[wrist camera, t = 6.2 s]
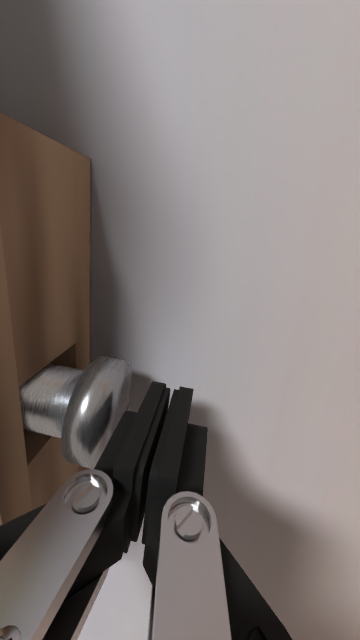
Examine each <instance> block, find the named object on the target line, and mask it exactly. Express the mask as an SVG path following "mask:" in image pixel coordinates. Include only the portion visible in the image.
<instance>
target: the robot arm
mask: <svg viewBox="0 0 360 640" xmlns="http://www.w3.org/2000/svg"><path fill="white" fill-rule="evenodd" d="M192 395H193V389H190V388H185V387H180V389H179V390H176V389H174V392H173V395H172V398H171V402H170V405H169V397H170V388H166V384H164V383H159V382H154V381H153V382H152V383H151V385H150V387H149V390H148V392H147V394H146V396H145V398H144V400H143V403H142V405H141V407H140V409H139V411H138V413H135V412H130V411H125V412H124V414H123V415H122V417H121V419H120V421H119V423H118V425H117V426H116V428H115V430H114V432H113V434H112V436H111V438H110V440H109V441H108V443H107V445H106V447H105V449H104V451H103V453H102V455H101V456H100V458H99V460H98V462H97V464H96V466H95V468H94V469H87V470H83V471H80V472H77V473H75V474H74V475H72V476H70V477H69V478H68V479H67V480H66V481H65V482H64V483H63V484H62V485H61V487H60V488H59V489H58V490H57V492H56V493H55V494H54V495H53V497H52V498H51V499H50V500H49V502H48V503H46V504H44V505H42V506H40V507H38V508H36V509H34V510H32V511H30V512H28V513H26V514H24V515H21V516H19V517H17V518H15V519H13V520H11V521H9V522H7V523H5V524H3V525H1V526H0V640H77V639H78V637H79V635H80V632H81V630H82V628H83V626H84V624H85V622H86V619H87V617H88V615H89V613H90V611H91V609H92V606H93V604H94V602H95V600H96V598H97V596H98V593H99V591H100V589H101V587H102V585H103V583H104V580H105V578H106V576H107V573H108V570H109V567H110V566H112V565H113V564H115V563H116V562H118V561H119V560H120V559H121V558H122V555H123V552H124V553H127V552H128V548H129V545H130V541H134V542H137V540H138V536H139V533H140V529H141V525H142V522H143V518H144V526H143V535H142V544H145V550H144V559H143V566H144V568H145V571H146V573H147V575H148V577H149V579H150V581H151V584H152V588H151V600H150V613H149V625H148V637H147V640H293V639H291V637H290V635H289V634H288V632H287V630H286V629H285V627H284V626H283V624H282V623H281V622H280V620H279V619H278V618H277V616H276V615H275V613H274V612H273V611H272V609H271V608H270V607H269V605H268V604H267V602H266V601H265V600H264V598H263V597H262V595H261V594H260V593H259V591H258V590H257V589H256V587H255V586H254V584H253V583H252V582H251V580H250V579H249V578H248V576H247V575H246V573H245V572H244V571H243V569H242V568H241V567H240V565H239V564H238V562H237V561H236V560H235V558H234V557H233V556H232V554H231V553H230V551H229V550H228V549H227V547H226V546H225V545H224V543H223V542H222V540H221V539H220V538H219V533H218V525H217V519H216V515H215V511H214V510H213V508H212V506H211V504H210V503H209V502H208V501H207V500H206V499H205V498H204V497H203V484H204V470H205V456H206V443H207V427H202V426H198V425H193V424H188V420H189V413H190V407H191V401H192ZM168 405H169V408H168ZM144 514H145V517H144Z"/></svg>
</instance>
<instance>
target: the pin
mask: <svg viewBox="0 0 360 640" xmlns="http://www.w3.org/2000/svg"><path fill="white" fill-rule="evenodd" d="M131 387H132V369H131V365H130V363H129V362H128V361H126V360H121V359H115V358H110V357H105V356H99V357H97V358H95V359H94V360H93V361H92V362H91V363H90V364H89V365H88V366H87V367H86V369H85V370H80V369H75V368H70V367H65V366H60V365H55V364H51V363H49V364H48V365H46V366H45V367H44V368H42V369H41V370H40V371H39V372H37V373H36V374H35V375H33V376H32V377H31V378H30V379H28V380H27V381H26V382H24V383H23V384H22V385H21V386H19V396H20V404H21V413H22V422H23V429H24V430H28V431H32V432H37V433H41V434H45V435H49V436H54V437H58V438H61V451H62V455H63V458H64V460H65V461H66V462H67V463H70V464H74V465H78V466H82V467H86V468H90V469H94V468H95V466H96V464H97V462H98V460H99V458H100V456H101V455H102V453H103V451H104V449H105V447H106V445H107V443H108V441H109V440H110V438H111V436H112V434H113V432H114V430H115V428H116V426H117V425H118V423H119V421H120V419H121V417H122V415H123V414H124V412H125V411H127V410H128V405H129V401H130V395H131Z"/></svg>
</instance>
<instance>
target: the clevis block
mask: <svg viewBox="0 0 360 640" xmlns="http://www.w3.org/2000/svg"><path fill="white" fill-rule="evenodd" d="M49 363H51V364H55V365H60V366H65V367H70V368H75V369H80V370H85V369H86V367H87V366H88V365H89V364H90V159H89V158H87V157H86V156H84V155H82V154H80V153H78V152H76V151H74V150H72V149H70V148H68V147H66V146H64V145H62V144H61V143H59V142H57V141H55V140H53V139H51V138H49V137H47V136H45V135H43V134H41V133H39V132H37V131H36V130H34V129H32V128H30V127H28V126H26V125H24V124H22V123H20V122H18V121H16V120H14V119H12V118H11V117H9V116H7V115H5V114H3V113H1V112H0V526H1V525H3V524H5V523H7V522H9V521H11V520H13V519H15V518H17V517H19V516H21V515H24V514H26V513H28V512H30V511H32V510H34V509H36V508H38V507H40V506H42V505H44V504H46V503H48V502H49V500H50V499H51V498H52V497H53V495H54V494H55V493H56V492H57V490H58V489H59V488H60V487H61V485H62V484H63V483H64V482H65V481H66V480H67V479H68V478H69V477H70V476H72V475H74V474H75V473H77V472H80V471H83V470H87V469H90V468H86V467H82V466H78V465H74V464H70V463H67V462H66V461H65V460H64V458H63V455H62V451H61V438H58V437H54V436H49V435H45V434H41V433H37V432H32V431H28V430H24V429H23V422H22V413H21V404H20V396H19V386H21V385H22V384H23V383H24V382H26V381H27V380H28V379H30V378H31V377H32V376H33V375H35V374H36V373H37V372H39V371H40V370H41V369H42V368H44V367H45V366H46V365H48V364H49Z"/></svg>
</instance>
